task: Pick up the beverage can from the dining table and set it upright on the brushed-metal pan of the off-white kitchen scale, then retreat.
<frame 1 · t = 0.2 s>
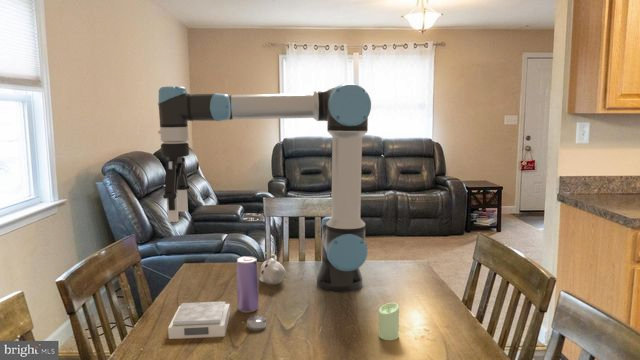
hand: (178, 216, 139), 27 cm above the table, fingers open, 13 cm apart
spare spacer: (256, 327, 129), on the table
beverage can: (248, 309, 141), on the table
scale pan: (200, 312, 129), point 4 cm above the table, slide at 1.0 cm
cat figurine: (272, 283, 162), on the table
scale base: (201, 325, 130), on the table
candle: (388, 336, 123), on the table
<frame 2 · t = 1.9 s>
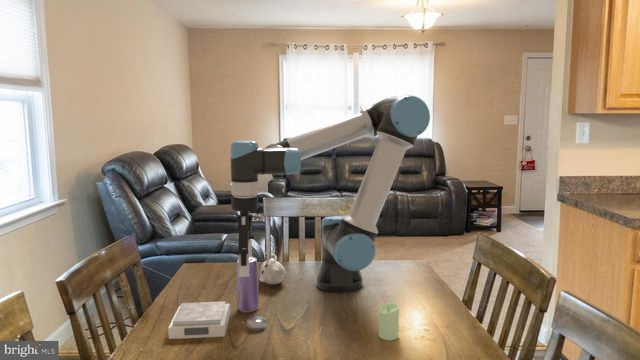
hand: (245, 268, 139), 12 cm above the table, fingers open, 13 cm apart
nothing on the table moved.
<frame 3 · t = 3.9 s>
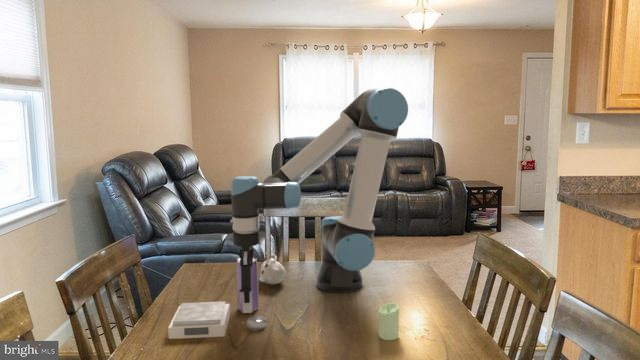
hand: (248, 307, 140), 0 cm above the table, fingers closed on beverage can, 6 cm apart
beverage can: (248, 309, 141), on the table, touching gripper
everything else where it was.
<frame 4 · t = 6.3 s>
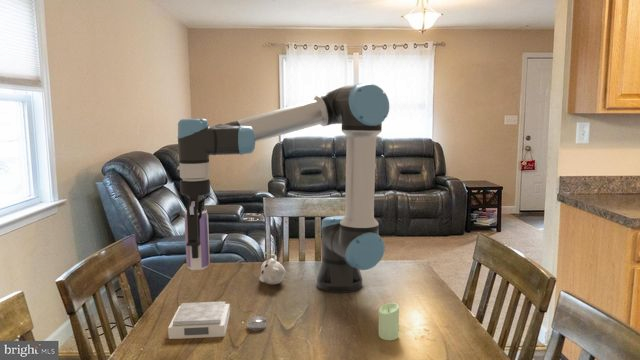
hand: (198, 265, 127), 17 cm above the table, fingers closed on beverage can, 6 cm apart
beverage can: (198, 267, 127), point 16 cm above the table, touching gripper
everything else where it was.
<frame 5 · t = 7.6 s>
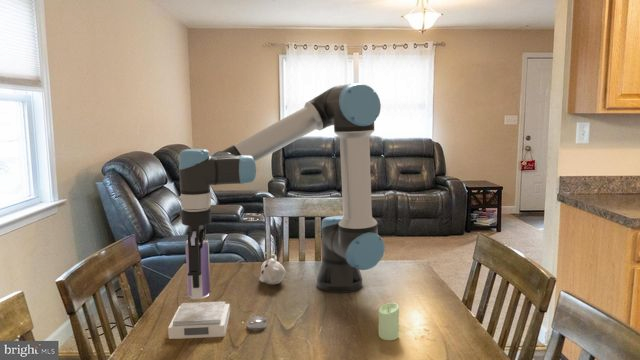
hand: (199, 293, 128), 9 cm above the table, fingers closed on beverage can, 6 cm apart
beverage can: (199, 295, 128), point 8 cm above the table, touching gripper
everything else where it was.
when the fingers open (7 cm above the table, at t = 8.8 s): beverage can drops 2 cm, resting on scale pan.
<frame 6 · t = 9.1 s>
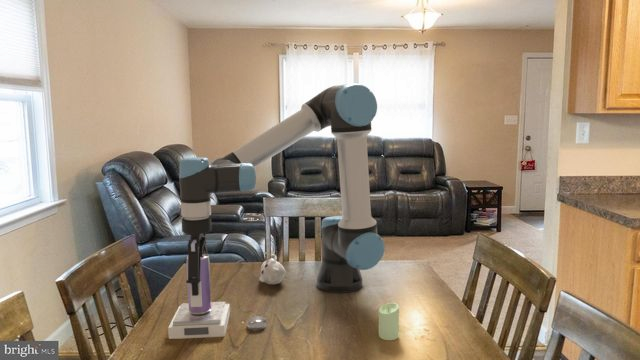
hand: (199, 298, 129), 8 cm above the table, fingers open, 10 cm apart
beverage can: (200, 311, 129), point 4 cm above the table, touching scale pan
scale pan: (200, 312, 129), point 4 cm above the table, slide at 1.1 cm, touching beverage can
everything else where it was.
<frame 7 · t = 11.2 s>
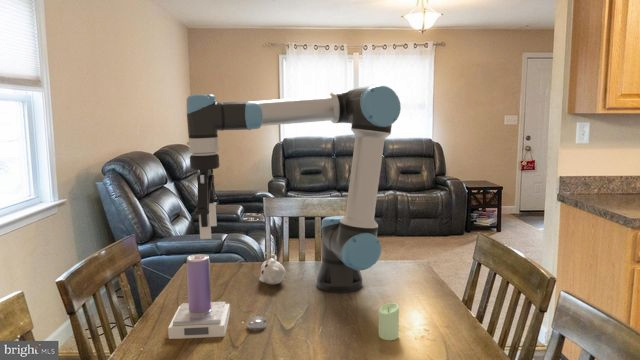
hand: (209, 232, 130), 25 cm above the table, fingers open, 13 cm apart
nothing on the table moved.
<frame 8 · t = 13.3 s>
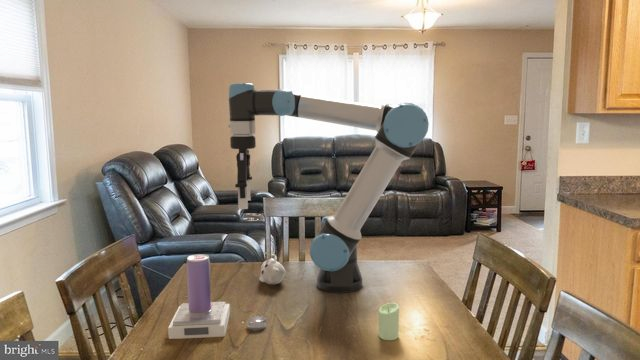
hand: (244, 204, 148), 29 cm above the table, fingers open, 13 cm apart
nothing on the table moved.
at the end: beverage can inside the target area on the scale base (0.1 cm from its centre), point 3.9 cm above the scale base's base; beverage can tilted 0°; the gripper is holding nothing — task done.
